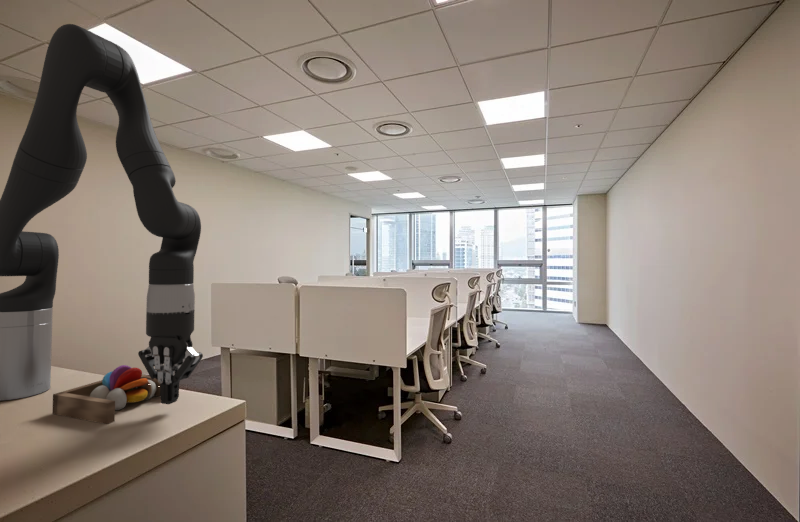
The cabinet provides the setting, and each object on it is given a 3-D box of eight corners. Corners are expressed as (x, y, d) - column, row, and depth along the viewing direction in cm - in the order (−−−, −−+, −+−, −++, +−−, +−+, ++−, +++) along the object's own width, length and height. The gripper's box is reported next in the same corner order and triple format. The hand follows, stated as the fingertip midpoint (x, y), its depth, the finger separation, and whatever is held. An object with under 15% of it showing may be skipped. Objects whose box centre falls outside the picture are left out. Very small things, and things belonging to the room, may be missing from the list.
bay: (52, 413, 65) (53, 394, 65) (127, 388, 78) (128, 372, 78) (107, 424, 61) (107, 403, 61) (176, 396, 74) (176, 379, 74)
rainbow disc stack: (120, 415, 65) (121, 375, 65) (81, 408, 68) (82, 369, 68) (162, 398, 73) (163, 362, 73) (126, 392, 76) (127, 358, 76)
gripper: (123, 309, 65) (121, 406, 64) (182, 312, 61) (181, 415, 61) (161, 304, 72) (159, 392, 72) (216, 307, 68) (214, 399, 68)
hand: (169, 402), depth 66 cm, fingers closed
